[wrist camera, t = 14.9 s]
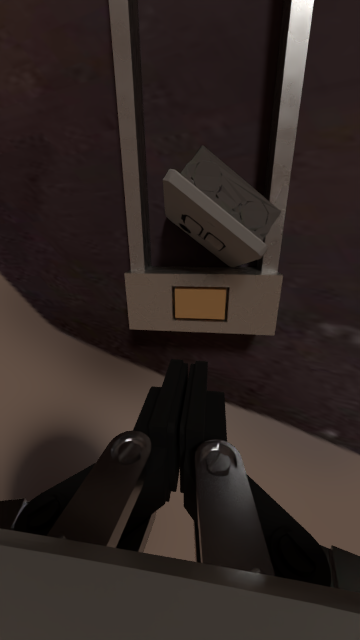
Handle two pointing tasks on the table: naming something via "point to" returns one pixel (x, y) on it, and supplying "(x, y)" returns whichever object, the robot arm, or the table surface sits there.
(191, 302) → the tab
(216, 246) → the electrical switch
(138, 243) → the guide track
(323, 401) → the table surface
